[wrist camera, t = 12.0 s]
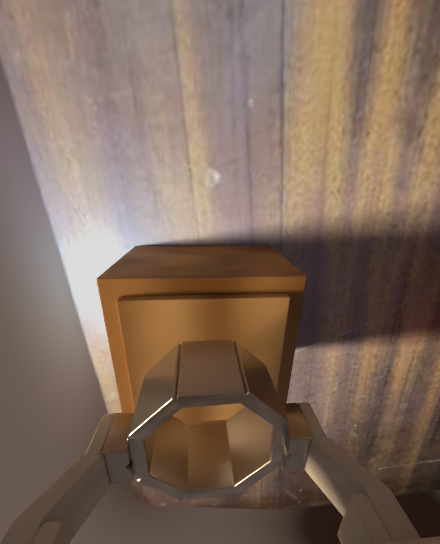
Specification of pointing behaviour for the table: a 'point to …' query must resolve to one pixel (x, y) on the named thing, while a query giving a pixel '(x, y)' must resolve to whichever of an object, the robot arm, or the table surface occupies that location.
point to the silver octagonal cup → (211, 436)
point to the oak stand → (199, 292)
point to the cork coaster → (201, 334)
